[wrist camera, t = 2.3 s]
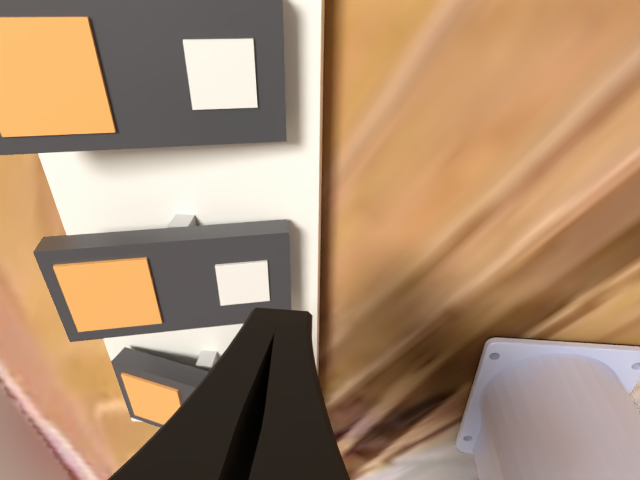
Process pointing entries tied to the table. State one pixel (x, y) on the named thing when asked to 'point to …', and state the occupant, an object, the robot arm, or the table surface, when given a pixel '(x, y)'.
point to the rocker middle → (166, 277)
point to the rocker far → (154, 384)
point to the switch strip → (215, 191)
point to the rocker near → (140, 74)
